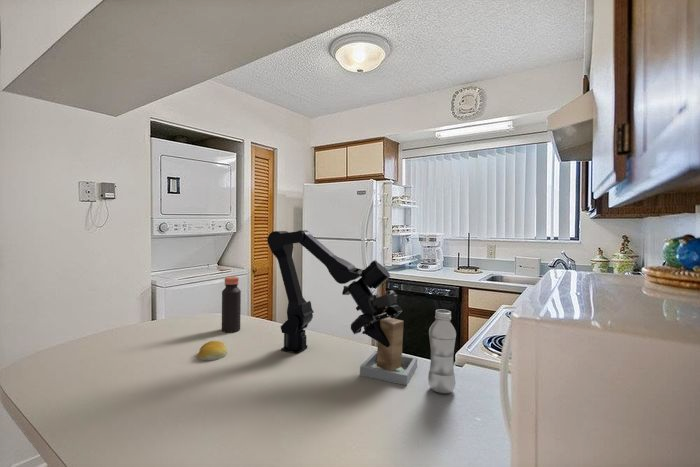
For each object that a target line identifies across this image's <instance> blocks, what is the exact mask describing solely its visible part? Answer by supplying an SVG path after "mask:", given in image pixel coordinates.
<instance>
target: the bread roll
mask: <svg viewBox="0 0 700 467" xmlns="http://www.w3.org/2000/svg"><path fill="white" fill-rule="evenodd" d="M227 353H228V347H227V346H226V344H225V343H224V342H222V341H220V340H212V341H207V342H206V343H204V344H202V345H201V347H200V348H199V351H198V353H197V358H198V359H199V360H201V361H207V362H208V361H209V362H210V361H215V360H219V359H222V358H224V357H225V356H226V355H227Z"/></svg>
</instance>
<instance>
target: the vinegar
mask: <svg viewBox="0 0 700 467" xmlns="http://www.w3.org/2000/svg"><path fill="white" fill-rule="evenodd" d="M238 285H239V277H236V276H228V277H225V278H224V286H225V287H224V289H223V290H222V291H221V332H222V333H226V334H227V333H231V334H232V333H236V332H238V331H240V330H241V314H242V313H241V309H242V308H241V303H242V300H241V298H242V296H241V295H242V291H241V289H240V288H239V287H238Z"/></svg>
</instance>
